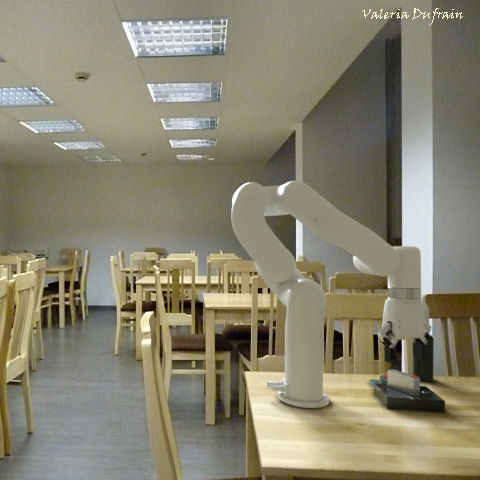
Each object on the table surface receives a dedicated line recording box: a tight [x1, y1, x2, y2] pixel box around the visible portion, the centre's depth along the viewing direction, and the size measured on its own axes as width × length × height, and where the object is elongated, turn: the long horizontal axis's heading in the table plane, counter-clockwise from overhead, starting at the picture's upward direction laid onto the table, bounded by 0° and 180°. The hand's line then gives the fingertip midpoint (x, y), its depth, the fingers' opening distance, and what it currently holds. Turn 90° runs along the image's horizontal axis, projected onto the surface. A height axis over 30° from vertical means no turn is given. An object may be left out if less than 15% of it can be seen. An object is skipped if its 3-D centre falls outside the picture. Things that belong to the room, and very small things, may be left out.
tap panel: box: [373, 383, 446, 414], centre depth 113 cm, size 14×12×3 cm
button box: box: [369, 374, 388, 388], centre depth 124 cm, size 10×8×3 cm
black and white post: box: [412, 296, 435, 384], centre depth 133 cm, size 5×5×25 cm
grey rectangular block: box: [387, 368, 421, 396], centre depth 113 cm, size 8×2×5 cm, turn 20°
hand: (405, 360), depth 113 cm, fingers open, 9 cm apart
